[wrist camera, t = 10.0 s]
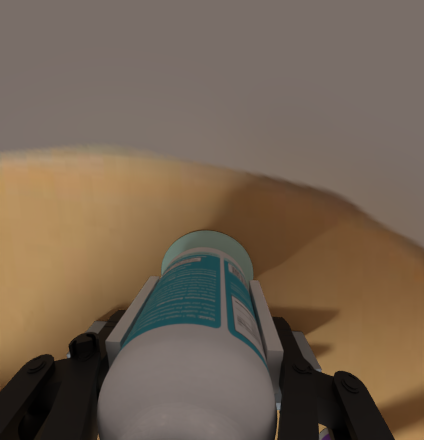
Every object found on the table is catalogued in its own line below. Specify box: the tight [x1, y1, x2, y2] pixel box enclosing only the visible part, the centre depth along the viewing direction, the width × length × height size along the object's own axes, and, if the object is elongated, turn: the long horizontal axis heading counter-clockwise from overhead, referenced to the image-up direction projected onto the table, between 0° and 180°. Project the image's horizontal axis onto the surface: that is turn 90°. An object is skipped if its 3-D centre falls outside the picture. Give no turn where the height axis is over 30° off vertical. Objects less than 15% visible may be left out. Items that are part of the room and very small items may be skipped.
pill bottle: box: [97, 247, 277, 440], centre depth 11 cm, size 8×7×14 cm
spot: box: [161, 230, 253, 290], centre depth 19 cm, size 9×9×1 cm
